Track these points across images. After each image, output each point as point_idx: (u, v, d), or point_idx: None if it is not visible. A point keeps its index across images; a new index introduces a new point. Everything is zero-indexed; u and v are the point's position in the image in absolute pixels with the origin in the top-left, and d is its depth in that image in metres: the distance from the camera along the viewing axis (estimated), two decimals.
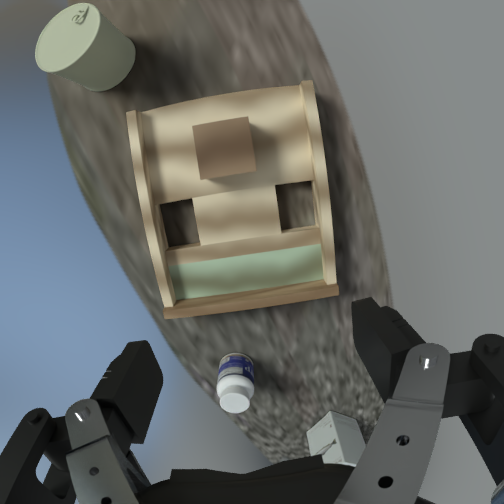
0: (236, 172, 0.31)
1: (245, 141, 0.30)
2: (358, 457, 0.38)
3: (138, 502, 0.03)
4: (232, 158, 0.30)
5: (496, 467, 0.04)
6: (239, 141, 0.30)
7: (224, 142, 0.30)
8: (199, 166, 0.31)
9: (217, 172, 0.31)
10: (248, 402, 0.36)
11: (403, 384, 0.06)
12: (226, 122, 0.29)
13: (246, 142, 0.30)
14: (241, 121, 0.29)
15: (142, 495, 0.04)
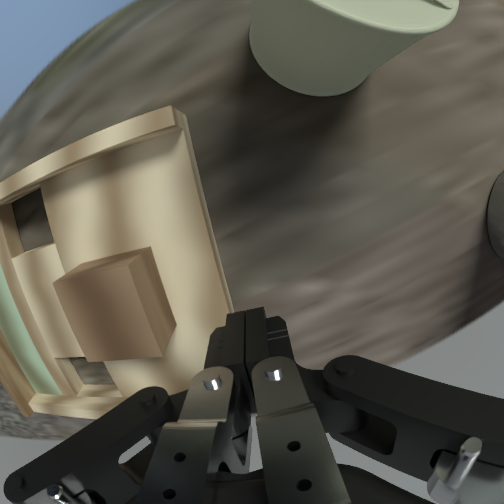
0: (76, 336, 0.17)
1: (122, 351, 0.17)
2: None
3: None
4: (93, 331, 0.17)
5: (411, 468, 0.05)
6: (119, 342, 0.17)
7: (111, 320, 0.16)
8: (69, 281, 0.16)
9: (69, 309, 0.16)
10: None
11: (261, 401, 0.06)
12: (144, 324, 0.16)
13: (121, 352, 0.17)
14: (151, 346, 0.17)
15: (216, 498, 0.04)
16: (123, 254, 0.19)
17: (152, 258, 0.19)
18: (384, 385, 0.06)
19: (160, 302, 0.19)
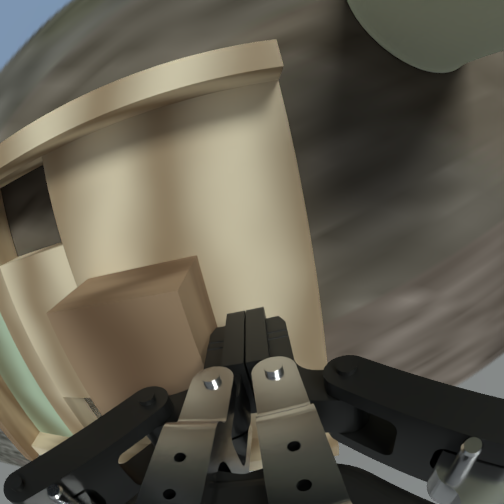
0: (87, 388, 0.11)
1: None
2: None
3: None
4: (113, 385, 0.11)
5: (411, 468, 0.05)
6: None
7: (143, 372, 0.10)
8: (73, 312, 0.10)
9: (74, 353, 0.10)
10: None
11: (261, 401, 0.06)
12: None
13: None
14: None
15: (216, 498, 0.04)
16: (154, 267, 0.13)
17: (200, 273, 0.13)
18: (384, 385, 0.06)
19: None
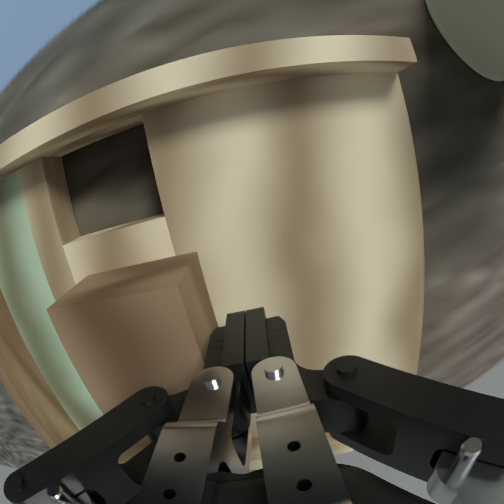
0: (87, 385, 0.11)
1: None
2: None
3: None
4: (113, 381, 0.11)
5: (411, 468, 0.05)
6: None
7: (143, 368, 0.10)
8: (73, 309, 0.10)
9: (74, 349, 0.10)
10: None
11: (261, 401, 0.06)
12: None
13: None
14: None
15: (216, 498, 0.04)
16: (154, 263, 0.13)
17: (200, 270, 0.13)
18: (384, 385, 0.06)
19: None
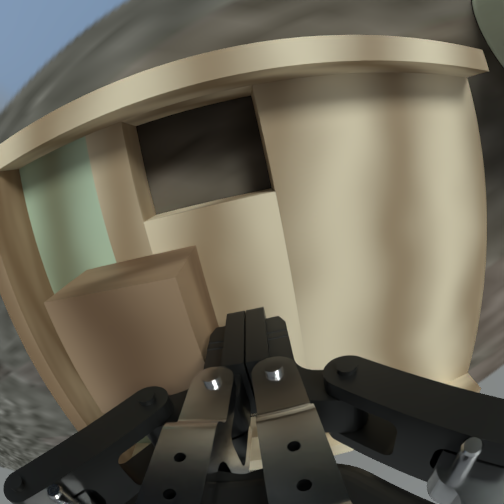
0: (84, 380, 0.11)
1: None
2: None
3: None
4: (110, 376, 0.11)
5: (411, 468, 0.05)
6: None
7: (140, 362, 0.10)
8: (70, 301, 0.10)
9: (71, 343, 0.10)
10: None
11: (261, 401, 0.06)
12: (198, 368, 0.10)
13: None
14: None
15: (216, 498, 0.04)
16: (153, 257, 0.13)
17: (198, 264, 0.13)
18: (384, 385, 0.06)
19: (212, 328, 0.13)
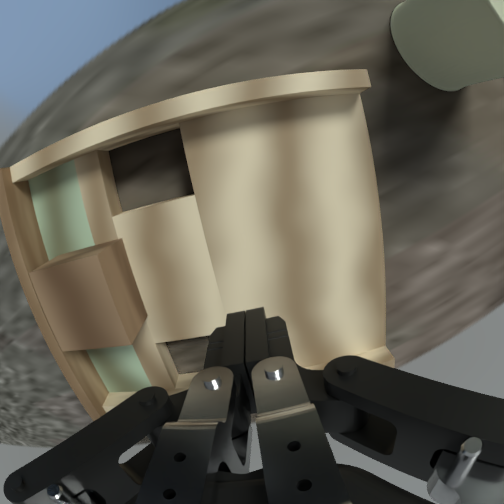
0: (51, 325, 0.17)
1: (94, 339, 0.17)
2: None
3: None
4: (66, 320, 0.16)
5: (411, 468, 0.05)
6: (90, 331, 0.17)
7: (82, 309, 0.16)
8: (43, 271, 0.15)
9: (44, 299, 0.16)
10: None
11: (261, 401, 0.06)
12: (113, 313, 0.16)
13: (93, 341, 0.17)
14: (120, 335, 0.17)
15: (216, 498, 0.04)
16: (96, 246, 0.19)
17: (123, 250, 0.19)
18: (384, 385, 0.06)
19: (130, 292, 0.19)
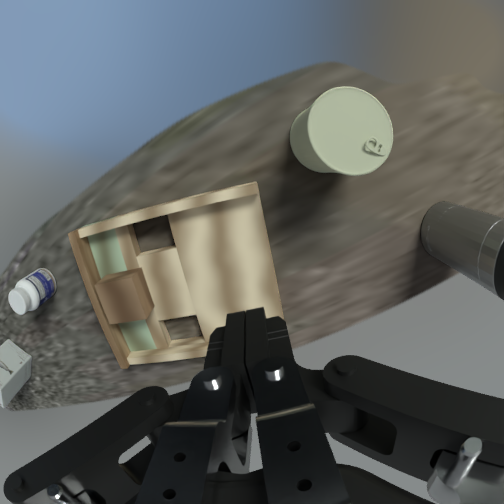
0: (105, 310, 0.37)
1: (128, 317, 0.37)
2: (6, 395, 0.37)
3: None
4: (114, 308, 0.37)
5: (411, 468, 0.05)
6: (126, 313, 0.37)
7: (123, 302, 0.37)
8: (103, 284, 0.36)
9: (102, 297, 0.36)
10: (21, 313, 0.34)
11: (262, 401, 0.06)
12: (138, 303, 0.37)
13: (127, 318, 0.37)
14: (141, 314, 0.37)
15: (216, 498, 0.04)
16: (128, 271, 0.39)
17: (142, 273, 0.39)
18: (384, 385, 0.06)
19: (146, 294, 0.39)
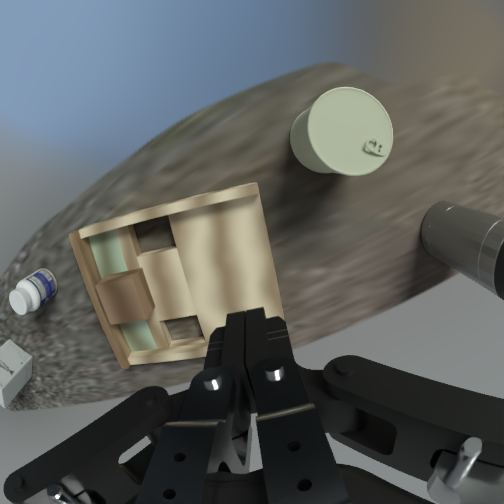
0: (106, 311, 0.37)
1: (128, 317, 0.37)
2: (7, 396, 0.37)
3: None
4: (114, 308, 0.37)
5: (411, 468, 0.05)
6: (127, 313, 0.37)
7: (124, 302, 0.37)
8: (104, 284, 0.36)
9: (103, 298, 0.36)
10: (22, 314, 0.34)
11: (262, 401, 0.06)
12: (139, 304, 0.37)
13: (128, 318, 0.37)
14: (142, 314, 0.37)
15: (216, 498, 0.04)
16: (129, 271, 0.39)
17: (143, 273, 0.39)
18: (384, 385, 0.06)
19: (147, 294, 0.39)
